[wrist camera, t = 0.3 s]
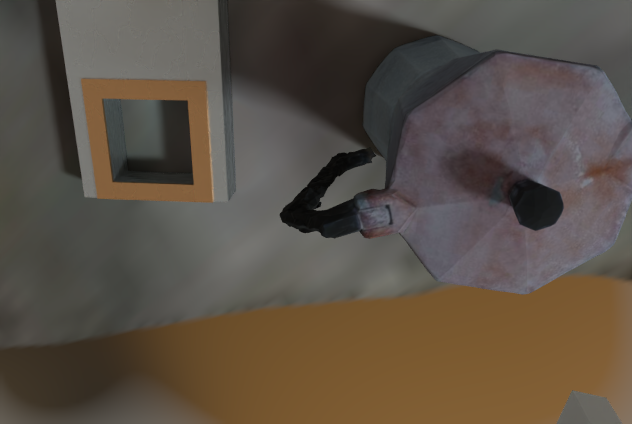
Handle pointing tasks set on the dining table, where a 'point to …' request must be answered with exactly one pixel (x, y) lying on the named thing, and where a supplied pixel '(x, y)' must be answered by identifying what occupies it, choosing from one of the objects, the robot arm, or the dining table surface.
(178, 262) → the dining table surface
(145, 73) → the grey shape sorter board
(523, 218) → the moka pot
